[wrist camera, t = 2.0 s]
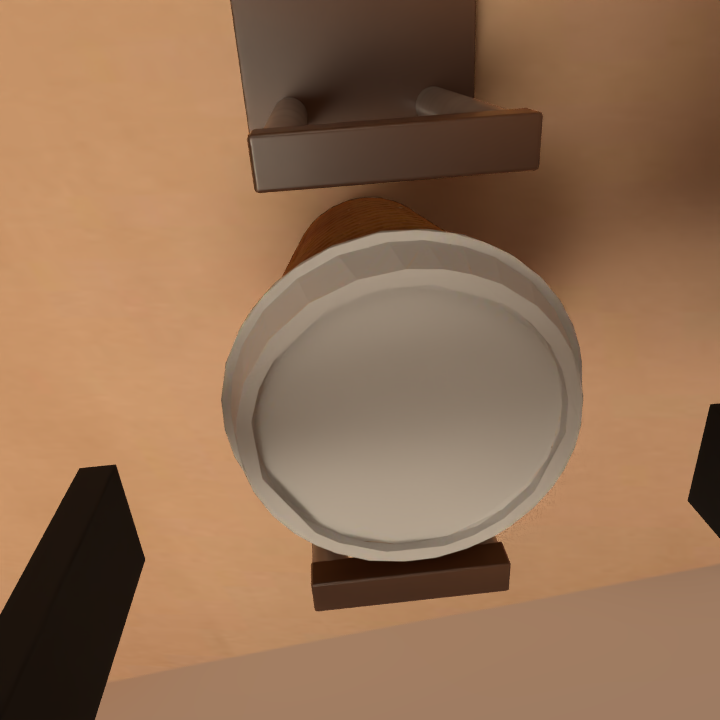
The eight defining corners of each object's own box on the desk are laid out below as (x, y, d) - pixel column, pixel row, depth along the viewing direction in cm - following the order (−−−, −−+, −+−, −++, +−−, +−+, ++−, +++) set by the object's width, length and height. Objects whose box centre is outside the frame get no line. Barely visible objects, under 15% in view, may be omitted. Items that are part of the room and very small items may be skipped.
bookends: (231, -23, 20) (162, -85, 11) (466, -39, 21) (609, -113, 11) (301, 483, 30) (299, 689, 21) (458, 467, 31) (529, 663, 21)
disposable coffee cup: (236, 166, 23) (176, 269, 12) (482, 144, 23) (627, 227, 13) (271, 381, 28) (248, 592, 17) (477, 360, 28) (582, 554, 17)
